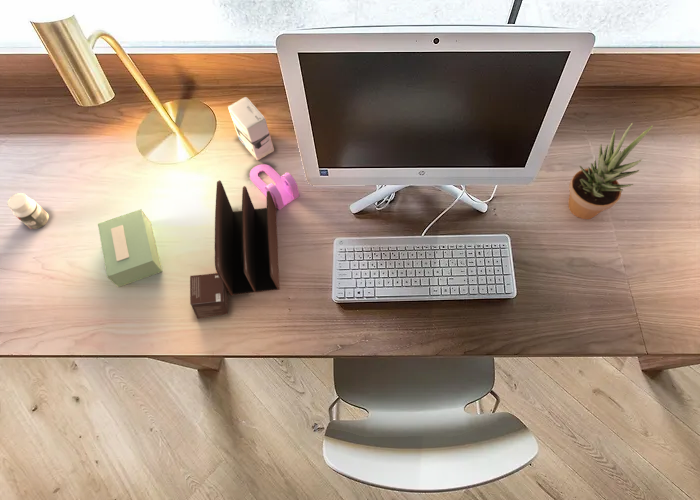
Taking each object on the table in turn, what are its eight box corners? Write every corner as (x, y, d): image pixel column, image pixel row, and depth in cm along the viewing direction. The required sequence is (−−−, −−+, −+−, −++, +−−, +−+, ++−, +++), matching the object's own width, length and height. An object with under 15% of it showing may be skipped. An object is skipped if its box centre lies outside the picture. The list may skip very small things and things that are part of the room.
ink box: (239, 142, 117) (226, 105, 107) (256, 131, 118) (245, 94, 108) (258, 164, 114) (246, 128, 103) (276, 153, 115) (266, 117, 104)
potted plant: (602, 189, 106) (661, 106, 85) (609, 227, 102) (673, 149, 80) (555, 187, 107) (601, 103, 85) (559, 224, 103) (609, 146, 81)
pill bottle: (25, 229, 108) (0, 208, 100) (36, 211, 110) (12, 189, 102) (44, 233, 107) (20, 212, 100) (55, 215, 109) (32, 193, 102)
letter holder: (231, 298, 98) (210, 266, 85) (231, 214, 107) (213, 175, 95) (281, 292, 98) (267, 260, 86) (277, 209, 107) (264, 169, 95)
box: (196, 291, 98) (189, 274, 92) (227, 288, 99) (222, 271, 92) (197, 319, 95) (189, 304, 89) (228, 316, 96) (223, 301, 90)
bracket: (300, 198, 108) (295, 179, 102) (279, 213, 107) (274, 194, 101) (265, 163, 113) (259, 143, 107) (245, 177, 112) (238, 157, 106)
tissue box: (106, 276, 94) (152, 260, 96) (97, 223, 100) (140, 208, 101) (120, 289, 100) (164, 273, 101) (111, 238, 106) (152, 224, 107)
